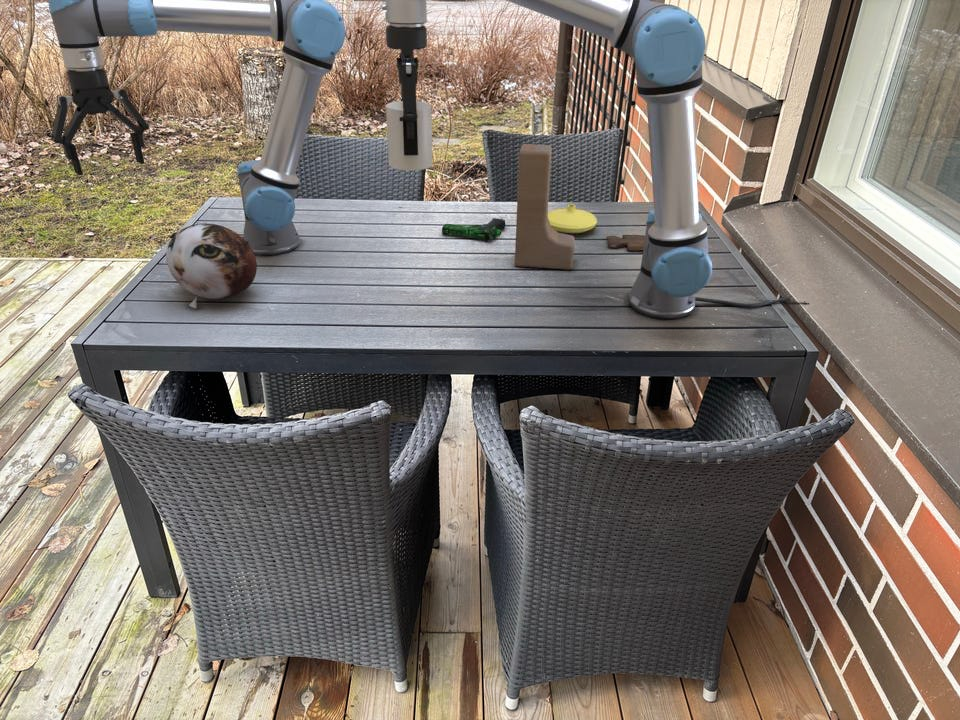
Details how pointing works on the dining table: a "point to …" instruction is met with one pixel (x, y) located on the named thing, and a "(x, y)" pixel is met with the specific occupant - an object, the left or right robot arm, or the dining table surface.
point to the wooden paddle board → (627, 241)
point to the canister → (396, 137)
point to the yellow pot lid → (571, 220)
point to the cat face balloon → (211, 261)
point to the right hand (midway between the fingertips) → (410, 148)
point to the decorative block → (538, 214)
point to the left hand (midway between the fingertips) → (110, 168)
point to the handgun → (476, 230)
